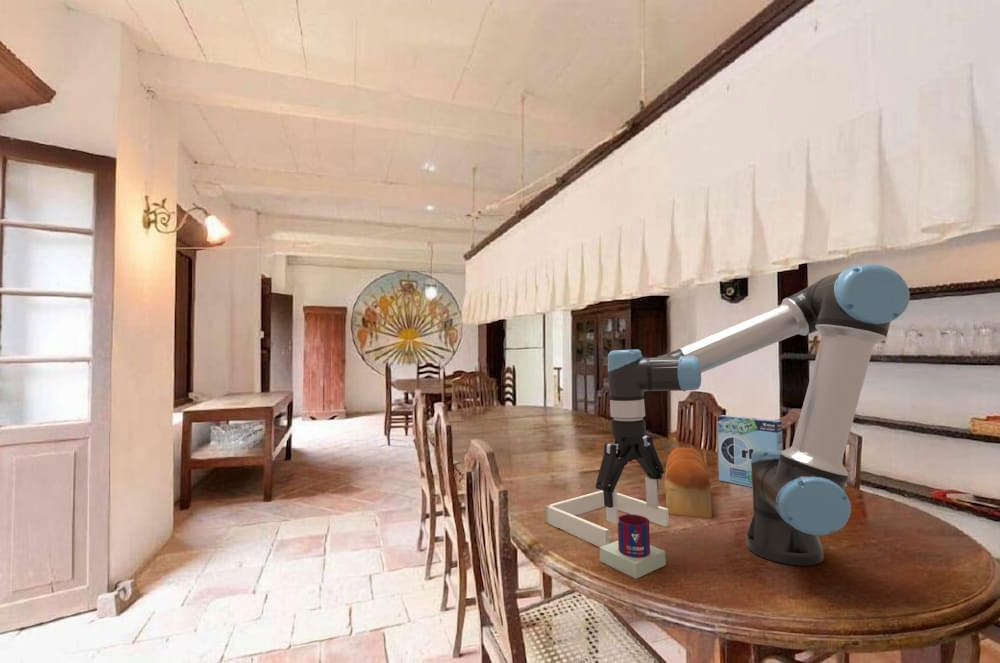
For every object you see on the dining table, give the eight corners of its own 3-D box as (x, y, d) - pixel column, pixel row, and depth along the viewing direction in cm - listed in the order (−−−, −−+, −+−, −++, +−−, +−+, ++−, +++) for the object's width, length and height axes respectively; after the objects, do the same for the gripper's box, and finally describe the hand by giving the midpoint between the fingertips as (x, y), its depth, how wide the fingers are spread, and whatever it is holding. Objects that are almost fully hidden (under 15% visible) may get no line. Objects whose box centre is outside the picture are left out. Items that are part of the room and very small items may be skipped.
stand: (665, 565, 100) (665, 551, 100) (635, 578, 94) (635, 564, 94) (629, 549, 108) (628, 536, 108) (599, 561, 102) (599, 547, 102)
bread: (713, 519, 126) (711, 465, 127) (665, 514, 130) (663, 462, 131) (707, 492, 149) (705, 447, 150) (666, 489, 154) (665, 445, 154)
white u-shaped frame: (668, 525, 121) (668, 508, 122) (605, 550, 108) (605, 530, 108) (606, 504, 140) (606, 489, 140) (545, 522, 126) (545, 505, 126)
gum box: (718, 481, 161) (716, 416, 162) (725, 478, 165) (722, 414, 166) (779, 493, 146) (776, 422, 147) (785, 490, 150) (782, 420, 151)
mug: (619, 556, 98) (618, 524, 98) (616, 537, 107) (615, 508, 108) (652, 558, 96) (651, 526, 97) (646, 539, 106) (645, 509, 106)
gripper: (649, 410, 112) (654, 498, 111) (575, 423, 98) (580, 523, 97) (675, 413, 106) (681, 505, 105) (601, 427, 92) (607, 533, 91)
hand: (633, 514), depth 101 cm, fingers open, 13 cm apart
